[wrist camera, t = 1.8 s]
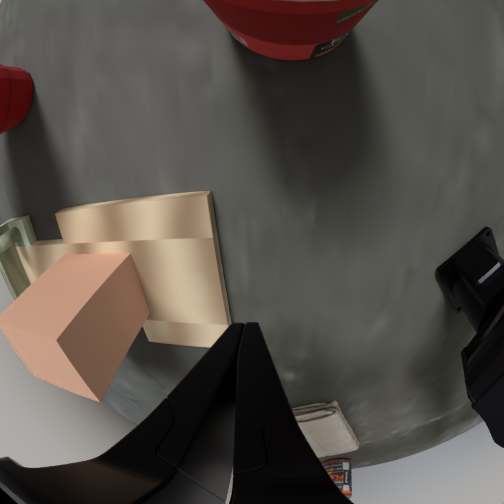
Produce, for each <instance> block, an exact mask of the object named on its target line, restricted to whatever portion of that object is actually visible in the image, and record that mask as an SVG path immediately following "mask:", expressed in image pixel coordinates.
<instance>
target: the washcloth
mask: <svg viewBox="0 0 504 504" xmlns="http://www.w3.org/2000/svg"><path fill="white" fill-rule="evenodd" d="M340 409H341V408H340V407H339V405H338V402H336V400H334V401H332V402H331V403H317V404H311V405H306V406H301V407H297V408H293V409H292V411H293V413H294V416H295V418H296V420H297V422H298V425H299V427H300V429H301V431H302V432H303V434H304V436H305V438H306V439H307V441H308V443H309V444H310V446H311V448H312V449H313V451H314V452H315V454H316V456H317V457H318V458H319V457H324V456H327V455H331V456H332V455H337V454H342V453H347V452H350V451H354V450H357V449H358V448H359V444H360V442H358V440H357V438H356V436H355V435H354V433H353V431H352V429H351V426H350V425H349V424H348V423H347V421H346V419H345V418H344V415H343V414H342V411H341V410H340Z"/></svg>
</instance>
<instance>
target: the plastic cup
mask: <svg viewBox="0 0 504 504" xmlns="http://www.w3.org/2000/svg"><path fill="white" fill-rule="evenodd" d="M32 96H33V81H32V78H31V76H30V74H29V73H28V72H27V71H25V70H22V69H20V68H14V67H7V66H3V65H0V134H1V133H3V132H5V131H7V130H9V129H11V128H13V127H15V126H16V125H18V124H19V123H20V122H22V121H23V120H24V118H25V117H26V115H27V114H28V111H29V108H30V105H31V103H32Z"/></svg>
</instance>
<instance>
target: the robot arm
mask: <svg viewBox="0 0 504 504" xmlns="http://www.w3.org/2000/svg"><path fill="white" fill-rule="evenodd" d="M487 232H488V233H487ZM442 271H443V272H442ZM437 275H438V277H439V279H440V281H441V283H442V285H443V287H444V289H445V291H446V293H447V295H448V298H449V300H450V302H451V304H452V306H453V309H454V310H455V312H456V313H459V312H461V311H462V310H463V311H464V313H465V315H466V316H467V318H468V319H469V321H470V323H471V324H472V326H473V328H474V329H475V331H476V333H477V334H476V335H475V336H474V338H473V339H472V340H471V342H470V343H469V344H468V345H467V347H465V348H464V349H463V350H462V351H461V357H462V363H463V369H464V376H465V385H466V390H467V394H468V398H469V399H470V401H471V403H472V408H473V409H474V410H475V411H476V412H477V413H478V414H479V415H480V416H481V417H482V419H483V420H484V421H485V423H486V425H487V427H488V429H489V431H490V433H491V436H492V438H493V440H494V442H495V443H496V444H498V445H499V446H501V447H503V448H504V260H503V259H502V258H501V257H500V256H499V253H498V249H497V246H496V242H495V239H494V236H493V232H492V230H491V229H490V228H489V227H485V228H484V229H482V230H481V231H480V232H479V233H478V234H477V235H476V236H475V237H474V238H473V239H471V240H470V241H469V242H468V243H467V244H466V245H465V246H463V247H462V248H461V249H460V250H459V251H458V252H456V253H455V254H454V255H453V256H452V257H450V258H449V259H448V260H447V261H445V262H444V263H443V264H442V265H440V266H439V267H438V269H437ZM232 468H233V475H234V477H233V488H232V495H231V499H230V502H229V504H354V503H352V502H351V501H350V500H349V499H348V498H347V497H346V496H345V495H344V494H343V492H342V491H341V490H340V489H339V488H338V487H337V485H336V484H335V483H334V481H333V480H332V478H331V477H330V476H329V474H328V473H327V471H326V470H325V468H324V466H323V465H322V463H321V462H320V460H319V459H318V457H317V456H316V454H315V452H314V451H313V449H312V448H311V446H310V444H309V443H308V441H307V439H306V438H305V436H304V434H303V432H302V431H301V429H300V427H299V425H298V422H297V420H296V418H295V416H294V413H293V411H292V408H291V406H290V403H289V402H288V399H287V396H286V394H285V391H284V388H283V386H282V383H281V381H280V378H279V376H278V373H277V370H276V368H275V365H274V363H273V360H272V357H271V355H270V352H269V350H268V347H267V344H266V342H265V339H264V336H263V334H262V331H261V328H260V326H259V323H258V322H247V323H245V324H244V323H232V324H230V325H229V327H228V328H227V329H226V330H225V331H224V332H223V334H222V335H221V336H220V337H219V338H218V339H217V340H216V342H215V343H214V344H213V345H212V346H211V347H210V349H209V350H208V351H207V352H206V353H205V354H204V355H203V357H202V358H201V359H200V360H199V361H198V362H197V363H196V364H195V366H194V367H193V368H192V369H191V370H190V371H189V372H188V373H187V375H186V376H185V377H184V378H183V379H182V380H181V381H180V382H179V384H178V385H177V386H176V387H175V388H174V389H173V390H172V391H171V392H170V393H169V395H168V396H167V398H165V399H164V400H163V401H162V402H161V403H160V404H159V405H158V406H157V407H156V409H155V410H154V411H153V412H152V413H151V414H150V415H149V416H148V417H147V418H146V419H144V420H143V421H142V422H141V423H140V424H139V425H138V426H137V427H135V429H133V430H132V431H131V432H130V433H128V434H127V435H126V436H125V437H124V438H122V439H121V440H120V441H119V442H117V443H116V444H115V445H114V446H112V447H111V448H110V449H109V450H107V451H106V452H105V453H103V454H101V455H100V456H98V457H96V458H93V459H90V460H87V461H82V462H76V463H70V464H65V465H57V466H49V467H41V468H27V467H23V466H22V465H20V464H19V463H17V462H16V461H14V460H12V459H11V458H10V457H3V458H0V504H225V501H226V498H227V493H228V488H229V483H230V478H231V473H232Z"/></svg>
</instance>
